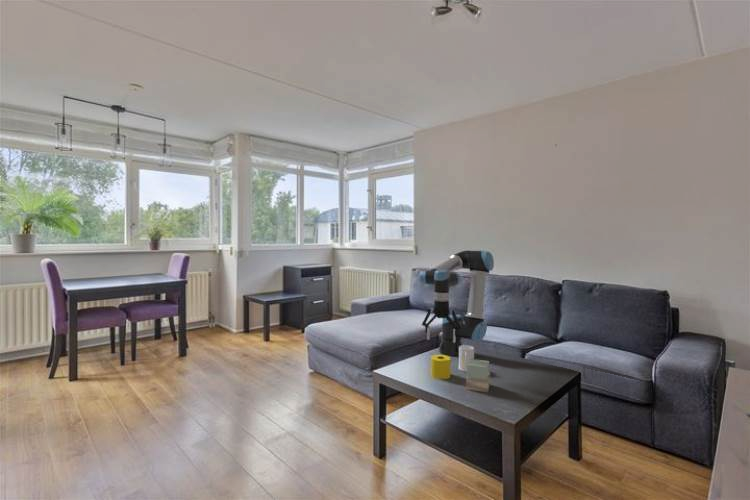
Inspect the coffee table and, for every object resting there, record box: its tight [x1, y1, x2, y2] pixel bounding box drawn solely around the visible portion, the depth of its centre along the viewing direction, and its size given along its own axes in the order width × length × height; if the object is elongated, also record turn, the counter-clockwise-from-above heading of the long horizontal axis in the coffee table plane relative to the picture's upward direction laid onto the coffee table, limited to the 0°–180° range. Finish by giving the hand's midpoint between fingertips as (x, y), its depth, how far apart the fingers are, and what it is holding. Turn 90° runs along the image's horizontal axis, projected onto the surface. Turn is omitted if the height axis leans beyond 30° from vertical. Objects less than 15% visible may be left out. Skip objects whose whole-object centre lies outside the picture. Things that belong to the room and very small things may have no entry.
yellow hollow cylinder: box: [430, 354, 451, 380], centre depth 194 cm, size 10×10×9 cm
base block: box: [465, 372, 491, 394], centre depth 179 cm, size 10×10×6 cm
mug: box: [457, 344, 475, 373], centre depth 201 cm, size 12×8×12 cm
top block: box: [466, 358, 490, 380], centre depth 179 cm, size 9×9×6 cm
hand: (441, 340), depth 193 cm, fingers open, 13 cm apart
